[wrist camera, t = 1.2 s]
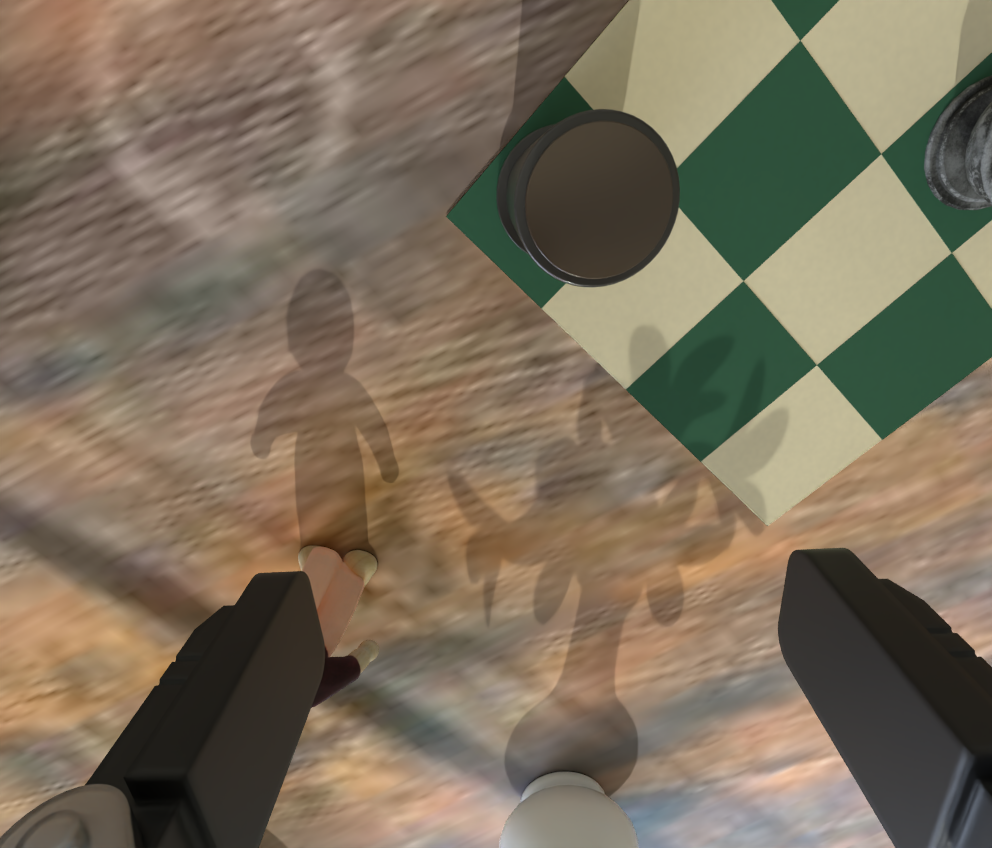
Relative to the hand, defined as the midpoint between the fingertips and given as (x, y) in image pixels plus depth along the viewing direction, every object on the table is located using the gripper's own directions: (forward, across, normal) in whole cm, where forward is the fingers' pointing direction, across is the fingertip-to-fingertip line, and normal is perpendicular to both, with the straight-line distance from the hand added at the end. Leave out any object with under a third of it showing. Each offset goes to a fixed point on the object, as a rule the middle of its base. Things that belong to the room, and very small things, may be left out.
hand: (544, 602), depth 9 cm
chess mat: (+20, -13, -4) cm, 24 cm away
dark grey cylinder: (+19, -2, -6) cm, 20 cm away
